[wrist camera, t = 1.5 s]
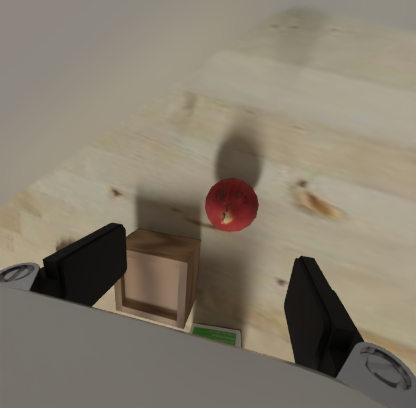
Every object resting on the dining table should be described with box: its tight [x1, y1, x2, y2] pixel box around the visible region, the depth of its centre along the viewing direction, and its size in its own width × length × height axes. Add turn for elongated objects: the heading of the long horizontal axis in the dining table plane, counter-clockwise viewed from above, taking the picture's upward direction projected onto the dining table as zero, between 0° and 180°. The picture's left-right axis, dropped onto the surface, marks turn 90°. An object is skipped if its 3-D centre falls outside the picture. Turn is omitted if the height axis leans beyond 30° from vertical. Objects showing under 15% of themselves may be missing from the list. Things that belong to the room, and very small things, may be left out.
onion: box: [205, 178, 259, 232], centre depth 21 cm, size 6×6×8 cm
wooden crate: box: [114, 229, 201, 329], centre depth 27 cm, size 10×10×6 cm
